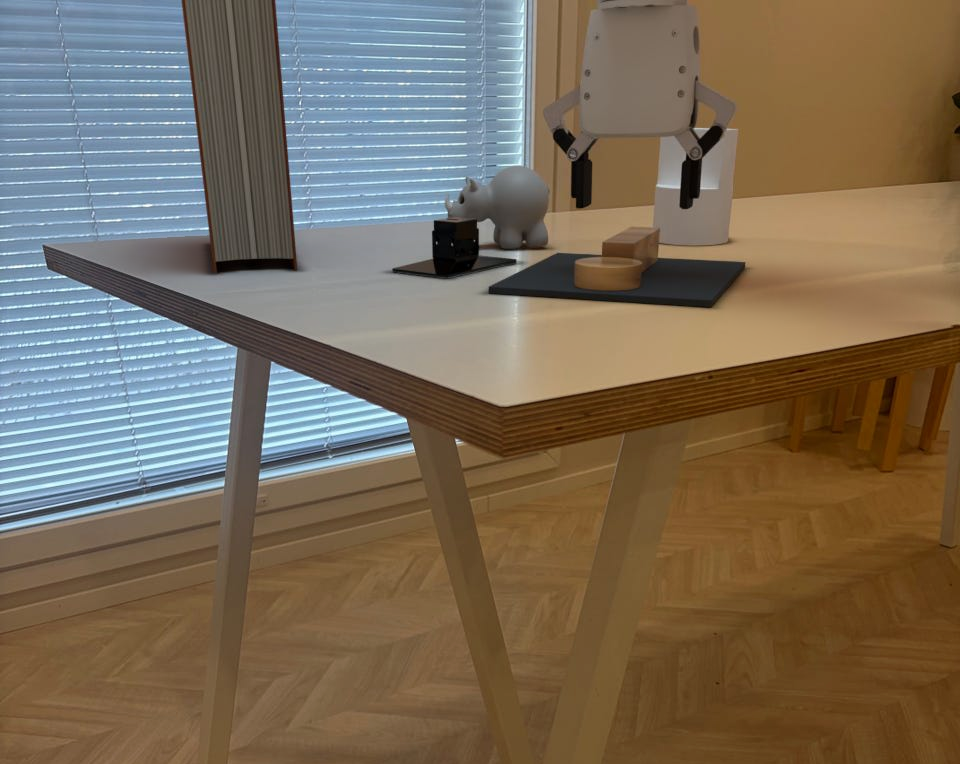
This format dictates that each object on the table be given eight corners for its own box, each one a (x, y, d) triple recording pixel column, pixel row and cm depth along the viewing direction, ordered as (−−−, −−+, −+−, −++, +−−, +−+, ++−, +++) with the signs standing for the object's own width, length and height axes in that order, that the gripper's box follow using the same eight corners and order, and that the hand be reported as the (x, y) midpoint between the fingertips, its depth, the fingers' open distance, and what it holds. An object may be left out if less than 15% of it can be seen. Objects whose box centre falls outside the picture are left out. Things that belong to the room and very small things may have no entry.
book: (297, 270, 104) (267, -89, 90) (215, 273, 103) (171, -93, 88) (279, 240, 124) (253, -59, 109) (210, 243, 122) (174, -61, 108)
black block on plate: (463, 257, 112) (463, 212, 110) (519, 264, 108) (520, 216, 106) (391, 271, 103) (389, 222, 101) (449, 279, 99) (448, 227, 97)
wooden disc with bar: (614, 258, 107) (616, 225, 105) (672, 261, 105) (674, 228, 103) (566, 288, 91) (567, 250, 90) (632, 292, 89) (634, 254, 88)
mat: (745, 268, 105) (745, 261, 105) (711, 307, 87) (711, 300, 86) (556, 258, 111) (557, 252, 111) (488, 293, 93) (488, 286, 92)
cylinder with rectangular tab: (742, 239, 123) (754, 128, 118) (700, 247, 118) (711, 130, 112) (679, 233, 129) (688, 126, 123) (636, 240, 123) (643, 128, 117)
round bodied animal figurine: (440, 244, 121) (439, 164, 117) (540, 241, 123) (542, 163, 118) (450, 253, 114) (448, 169, 110) (554, 249, 116) (557, 167, 112)
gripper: (752, -14, 87) (734, 204, 95) (557, -2, 93) (555, 203, 101) (740, -21, 81) (722, 212, 89) (532, -8, 87) (532, 211, 95)
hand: (634, 207), depth 95 cm, fingers open, 9 cm apart
